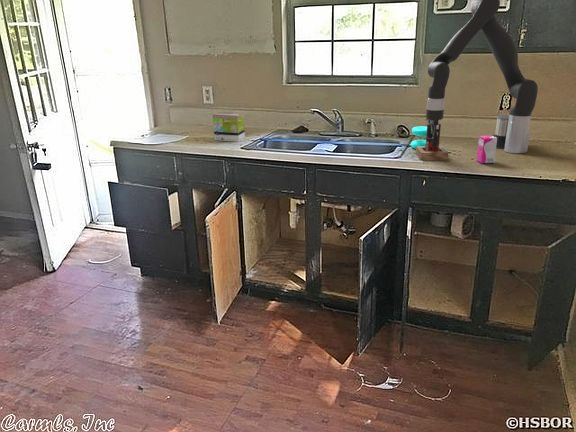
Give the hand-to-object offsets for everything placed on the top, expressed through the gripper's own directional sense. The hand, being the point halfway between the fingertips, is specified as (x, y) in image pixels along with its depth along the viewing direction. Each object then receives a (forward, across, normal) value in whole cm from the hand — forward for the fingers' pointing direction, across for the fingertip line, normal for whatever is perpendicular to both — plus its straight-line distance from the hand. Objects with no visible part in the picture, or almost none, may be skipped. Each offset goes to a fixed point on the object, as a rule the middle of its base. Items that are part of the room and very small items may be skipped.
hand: (432, 144), depth 219 cm
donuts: (+6, +18, +1) cm, 19 cm away
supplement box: (+6, -11, -21) cm, 24 cm away
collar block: (+6, 0, 0) cm, 6 cm away
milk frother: (+6, +21, -38) cm, 44 cm away
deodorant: (+6, 0, 0) cm, 6 cm away
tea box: (+6, +44, +102) cm, 111 cm away
